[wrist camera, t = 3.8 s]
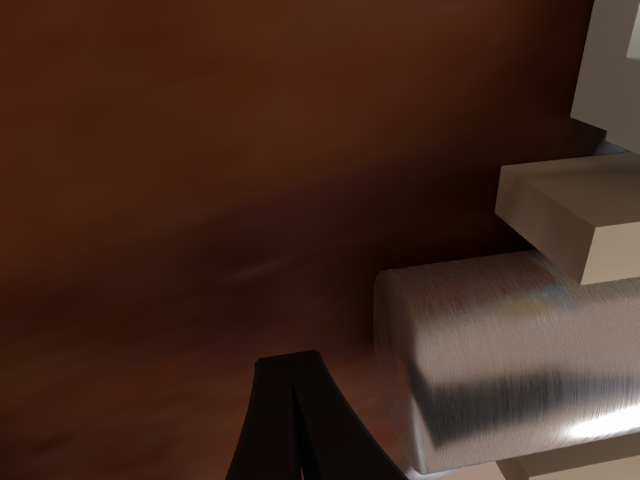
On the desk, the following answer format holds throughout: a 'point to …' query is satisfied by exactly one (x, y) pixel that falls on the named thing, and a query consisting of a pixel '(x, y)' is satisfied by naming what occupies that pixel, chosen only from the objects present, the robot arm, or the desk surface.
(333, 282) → the desk surface
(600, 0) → the cradle
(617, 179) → the wooden bracket frame
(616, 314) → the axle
